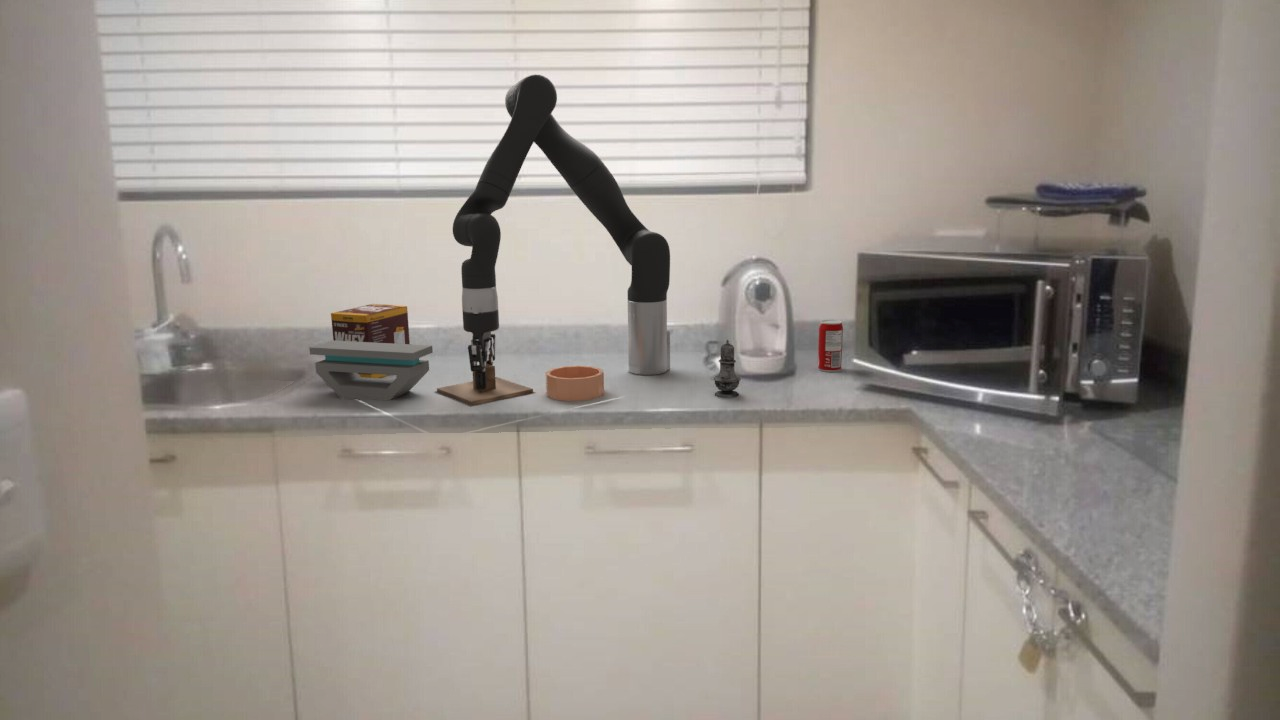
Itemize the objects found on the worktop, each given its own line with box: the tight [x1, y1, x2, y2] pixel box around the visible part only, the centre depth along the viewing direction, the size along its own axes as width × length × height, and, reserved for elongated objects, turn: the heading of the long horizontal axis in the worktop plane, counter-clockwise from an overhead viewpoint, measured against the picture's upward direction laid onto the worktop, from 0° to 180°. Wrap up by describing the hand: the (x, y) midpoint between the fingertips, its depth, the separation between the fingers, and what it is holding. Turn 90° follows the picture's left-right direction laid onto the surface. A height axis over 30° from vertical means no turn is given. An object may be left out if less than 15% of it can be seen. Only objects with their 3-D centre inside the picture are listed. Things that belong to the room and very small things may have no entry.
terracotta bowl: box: [545, 365, 605, 402], centre depth 183 cm, size 12×12×5 cm
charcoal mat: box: [434, 390, 537, 407], centre depth 185 cm, size 16×16×1 cm
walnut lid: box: [436, 364, 534, 406], centre depth 185 cm, size 15×15×6 cm
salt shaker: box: [712, 339, 742, 399], centre depth 182 cm, size 6×6×12 cm
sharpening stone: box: [308, 339, 433, 401], centre depth 184 cm, size 25×8×11 cm, turn 74°
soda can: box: [817, 319, 844, 373], centre depth 203 cm, size 6×6×12 cm
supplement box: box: [330, 303, 411, 379], centre depth 205 cm, size 10×15×16 cm
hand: (484, 385), depth 185 cm, fingers closed on walnut lid, 5 cm apart
